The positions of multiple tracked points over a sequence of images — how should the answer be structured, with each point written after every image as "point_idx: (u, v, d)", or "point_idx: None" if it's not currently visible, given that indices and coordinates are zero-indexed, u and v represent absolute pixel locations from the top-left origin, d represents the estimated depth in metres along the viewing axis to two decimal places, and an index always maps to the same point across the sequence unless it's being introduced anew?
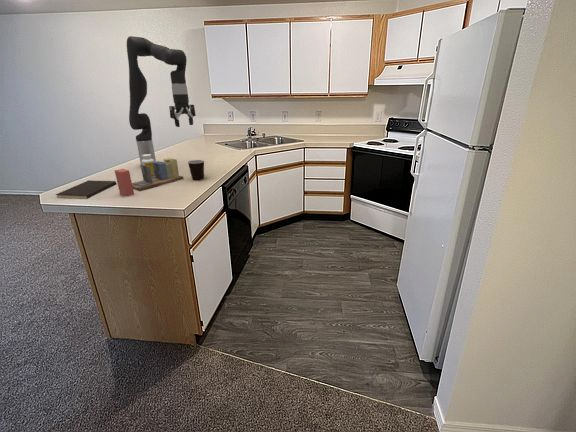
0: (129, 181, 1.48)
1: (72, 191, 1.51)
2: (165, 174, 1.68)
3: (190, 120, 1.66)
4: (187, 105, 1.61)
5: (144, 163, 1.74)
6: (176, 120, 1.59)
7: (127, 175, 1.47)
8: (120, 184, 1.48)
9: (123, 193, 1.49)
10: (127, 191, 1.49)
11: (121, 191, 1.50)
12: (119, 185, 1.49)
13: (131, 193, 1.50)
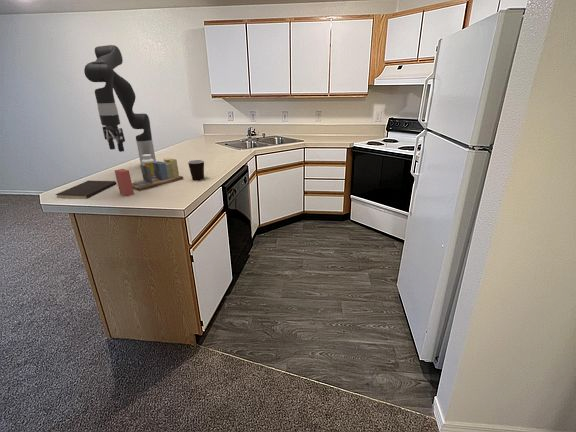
0: (129, 181, 1.48)
1: (72, 191, 1.51)
2: (165, 174, 1.68)
3: (112, 144, 1.45)
4: None
5: (144, 163, 1.74)
6: (122, 144, 1.40)
7: (127, 175, 1.47)
8: (120, 184, 1.48)
9: (123, 193, 1.49)
10: (127, 191, 1.49)
11: (121, 191, 1.50)
12: (119, 185, 1.49)
13: (131, 193, 1.50)
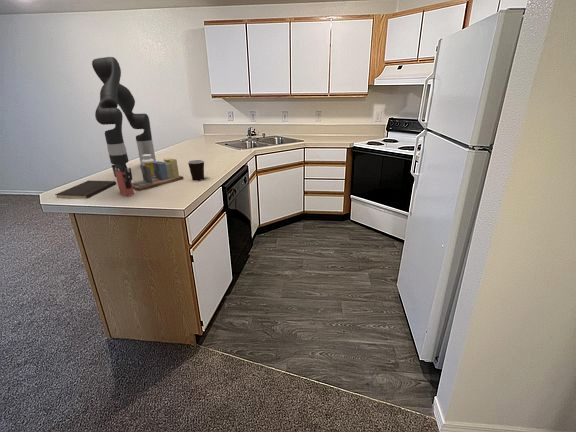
0: None
1: (71, 191, 1.51)
2: (165, 174, 1.68)
3: None
4: None
5: (144, 163, 1.74)
6: (129, 181, 1.47)
7: None
8: (120, 184, 1.49)
9: (123, 193, 1.49)
10: (127, 191, 1.49)
11: (121, 191, 1.50)
12: (119, 185, 1.49)
13: (131, 193, 1.51)
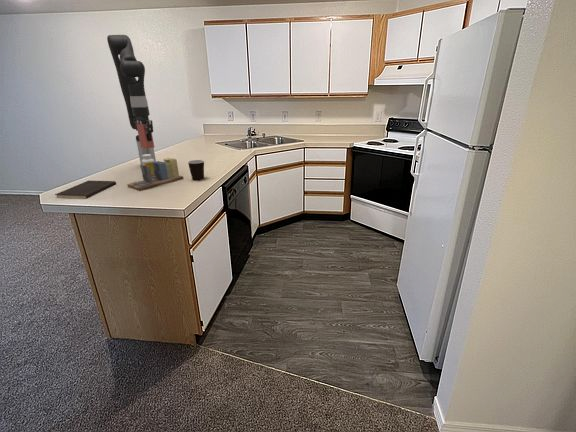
0: None
1: (71, 191, 1.51)
2: (165, 174, 1.68)
3: None
4: None
5: (144, 163, 1.74)
6: (150, 134, 1.55)
7: None
8: (141, 137, 1.57)
9: (144, 145, 1.57)
10: (148, 144, 1.57)
11: (142, 144, 1.58)
12: (140, 138, 1.57)
13: (151, 146, 1.59)
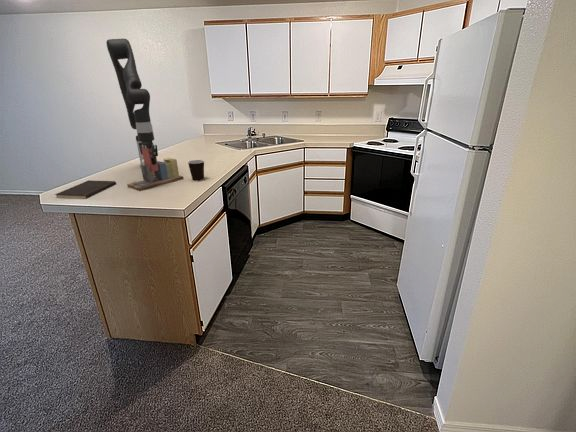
0: None
1: (71, 191, 1.51)
2: (165, 174, 1.68)
3: None
4: None
5: None
6: (155, 158, 1.60)
7: None
8: (146, 160, 1.61)
9: None
10: (153, 167, 1.62)
11: None
12: (145, 161, 1.62)
13: (156, 169, 1.63)
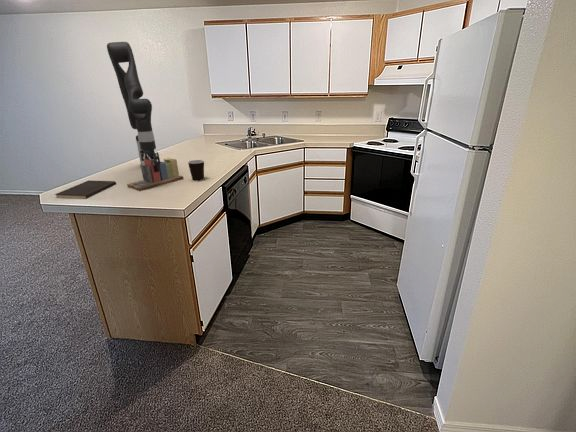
0: None
1: (71, 191, 1.51)
2: (165, 174, 1.68)
3: None
4: None
5: (144, 163, 1.74)
6: (157, 165, 1.61)
7: None
8: None
9: None
10: (155, 178, 1.64)
11: None
12: None
13: (158, 180, 1.66)
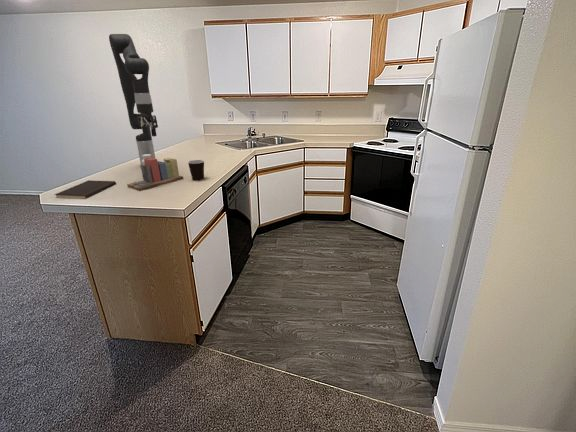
0: (157, 168, 1.64)
1: (71, 191, 1.51)
2: (165, 174, 1.68)
3: (145, 129, 1.63)
4: None
5: (144, 163, 1.74)
6: (155, 129, 1.58)
7: (155, 163, 1.62)
8: None
9: None
10: (155, 178, 1.64)
11: None
12: None
13: (158, 180, 1.66)
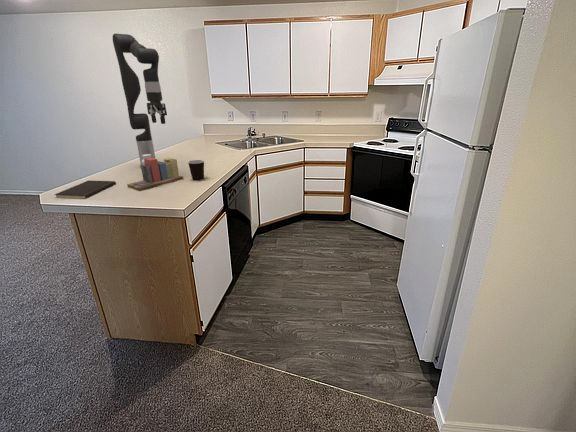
0: (157, 168, 1.64)
1: (71, 191, 1.51)
2: (165, 174, 1.68)
3: (154, 118, 1.69)
4: None
5: (144, 163, 1.74)
6: (164, 117, 1.64)
7: (155, 163, 1.62)
8: None
9: None
10: (155, 178, 1.64)
11: None
12: None
13: (158, 180, 1.66)
